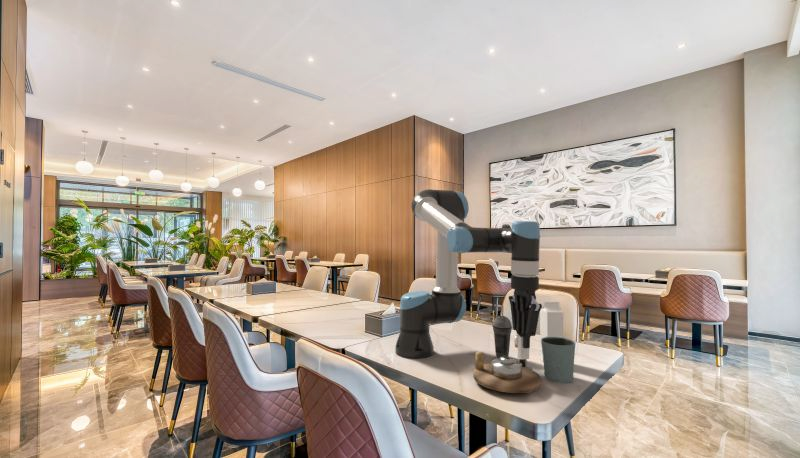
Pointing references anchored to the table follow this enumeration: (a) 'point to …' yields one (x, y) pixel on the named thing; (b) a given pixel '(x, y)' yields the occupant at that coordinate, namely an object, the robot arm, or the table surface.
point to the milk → (550, 322)
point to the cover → (506, 368)
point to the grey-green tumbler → (558, 359)
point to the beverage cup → (502, 335)
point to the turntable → (523, 385)
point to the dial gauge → (522, 361)
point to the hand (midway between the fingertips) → (523, 358)
